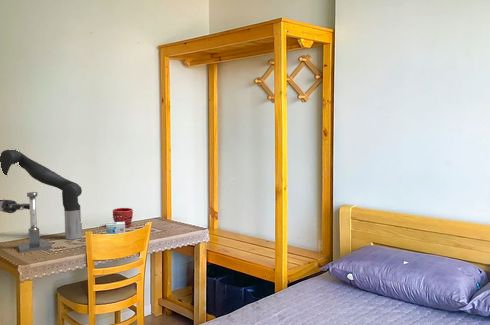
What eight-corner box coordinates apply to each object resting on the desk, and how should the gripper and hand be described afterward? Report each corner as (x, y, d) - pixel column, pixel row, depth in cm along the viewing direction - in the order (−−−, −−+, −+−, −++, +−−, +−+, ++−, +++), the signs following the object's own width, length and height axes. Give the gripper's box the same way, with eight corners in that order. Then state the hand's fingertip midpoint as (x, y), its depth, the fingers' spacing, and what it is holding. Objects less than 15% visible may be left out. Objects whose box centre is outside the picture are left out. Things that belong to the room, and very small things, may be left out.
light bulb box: (106, 243, 267) (105, 224, 267) (106, 240, 274) (106, 222, 273) (125, 241, 270) (124, 223, 270) (125, 239, 277) (124, 221, 276)
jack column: (38, 233, 262) (36, 191, 260) (39, 235, 258) (37, 192, 256) (28, 234, 259) (26, 192, 258) (29, 236, 255) (27, 193, 253)
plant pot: (109, 228, 308) (108, 210, 307) (120, 224, 321) (119, 207, 320) (126, 229, 304) (126, 211, 303) (136, 225, 317) (136, 208, 316)
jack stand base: (47, 242, 270) (47, 224, 269) (51, 248, 256) (51, 229, 255) (17, 246, 262) (16, 228, 261) (20, 252, 248) (19, 233, 247)
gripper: (-5, 201, 266) (10, 203, 257) (19, 198, 278) (34, 200, 269) (-5, 214, 267) (10, 217, 258) (19, 210, 278) (34, 213, 269)
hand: (22, 208), depth 263 cm, fingers open, 8 cm apart
